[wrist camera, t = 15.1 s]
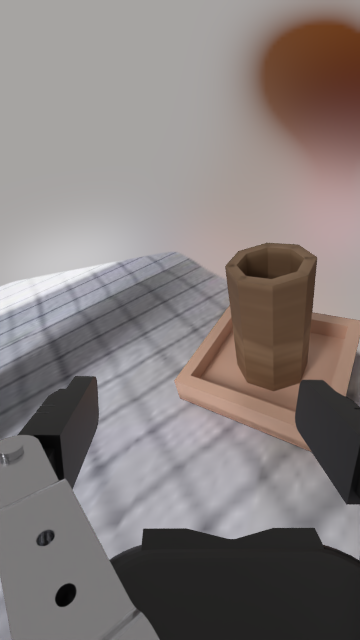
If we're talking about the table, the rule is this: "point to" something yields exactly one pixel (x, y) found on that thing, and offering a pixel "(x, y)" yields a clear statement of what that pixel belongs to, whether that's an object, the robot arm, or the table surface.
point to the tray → (259, 403)
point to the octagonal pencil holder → (272, 312)
